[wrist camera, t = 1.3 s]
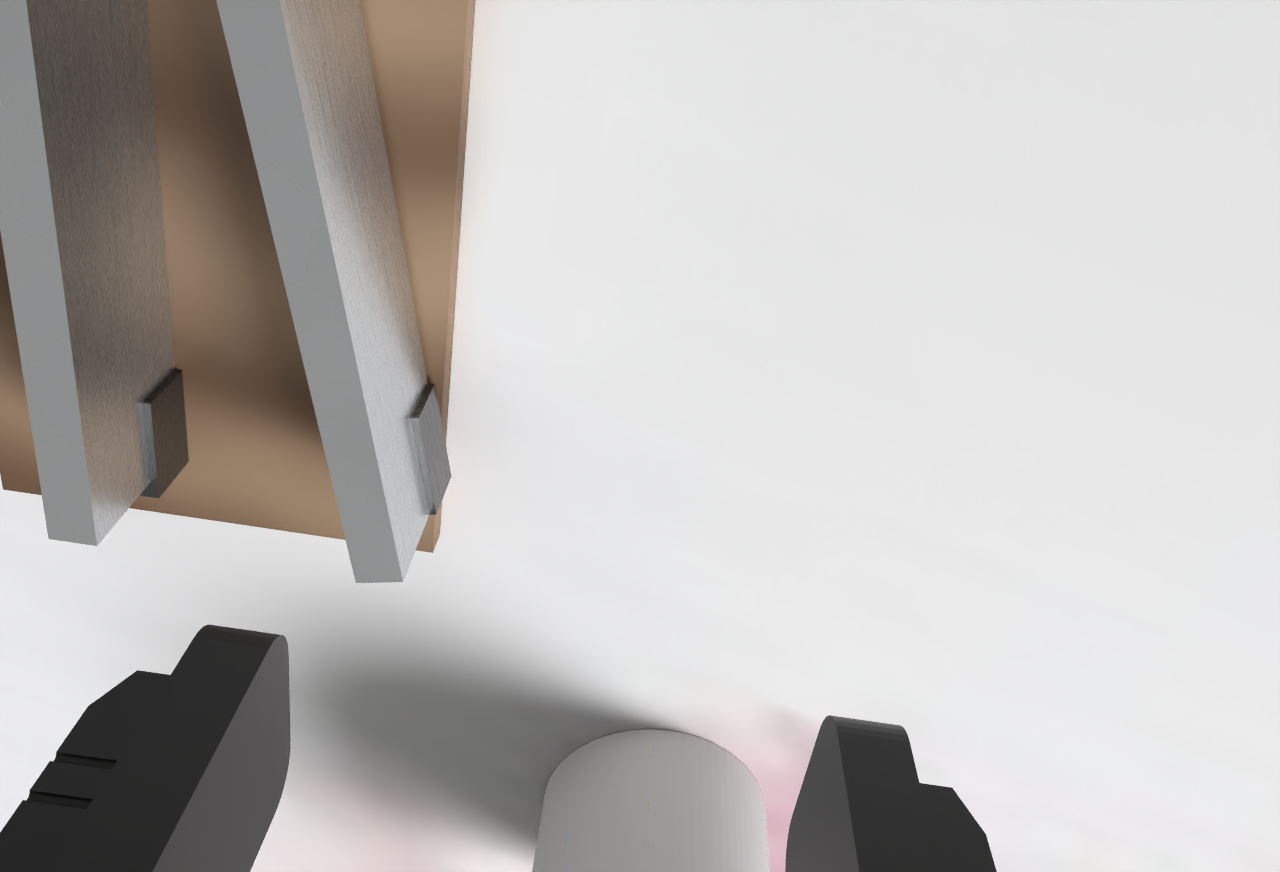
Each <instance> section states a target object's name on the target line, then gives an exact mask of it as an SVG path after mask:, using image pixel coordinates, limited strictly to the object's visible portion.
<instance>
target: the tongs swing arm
mask: <svg viewBox="0 0 1280 872" xmlns="http://www.w3.org/2000/svg"><path fill="white" fill-rule="evenodd" d="M216 1H217V6H218V10H219V14H220V18H221V22H222V26H223V31H224V35H225V39H226V43H227V47H228V51H229V56H230V60H231V64H232V68H233V72H234V76H235V81H236V85H237V89H238V93H239V97H240V101H241V106H242V110H243V114H244V118H245V122H246V126H247V131H248V135H249V139H250V143H251V147H252V151H253V156H254V160H255V164H256V168H257V172H258V176H259V181H260V185H261V189H262V193H263V197H264V202H265V206H266V210H267V214H268V218H269V222H270V227H271V231H272V235H273V239H274V243H275V247H276V252H277V256H278V260H279V264H280V268H281V272H282V277H283V281H284V285H285V289H286V293H287V297H288V302H289V306H290V310H291V314H292V318H293V322H294V327H295V331H296V335H297V339H298V343H299V347H300V352H301V356H302V360H303V364H304V368H305V372H306V377H307V381H308V385H309V389H310V393H311V398H312V402H313V406H314V410H315V414H316V418H317V423H318V427H319V431H320V435H321V439H322V443H323V448H324V452H325V456H326V460H327V464H328V468H329V473H330V477H331V481H332V485H333V489H334V493H335V498H336V502H337V506H338V510H339V514H340V518H341V523H342V527H343V531H344V535H345V539H346V543H347V548H348V552H349V556H350V560H351V564H352V568H353V573H354V577H355V581H356V583H373V582H403V581H404V578H405V576H406V573H407V571H408V568H409V565H410V563H411V560H412V558H413V555H414V553H415V550H416V548H417V545H418V542H419V540H420V537H421V535H422V532H423V530H424V527H425V525H426V522H427V519H428V517H429V515H437V512H438V509H439V507H440V504H441V501H442V499H443V496H444V494H445V491H446V488H447V486H448V483H449V480H450V478H451V473H450V467H449V461H448V455H447V450H446V444H445V438H444V433H443V427H442V421H441V415H440V410H439V404H438V398H437V392H436V387H435V384H428V382H427V376H426V371H425V365H424V360H423V354H422V348H421V343H420V337H419V332H418V326H417V320H416V315H415V309H414V304H413V298H412V292H411V287H410V281H409V275H408V270H407V264H406V259H405V253H404V247H403V242H402V236H401V231H400V225H399V219H398V214H397V208H396V203H395V197H394V191H393V186H392V180H391V175H390V169H389V163H388V158H387V152H386V146H385V141H384V135H383V130H382V124H381V118H380V113H379V107H378V102H377V96H376V90H375V85H374V79H373V74H372V68H371V62H370V57H369V51H368V46H367V40H366V34H365V29H364V23H363V17H362V12H361V6H360V1H359V0H216Z"/></svg>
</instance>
